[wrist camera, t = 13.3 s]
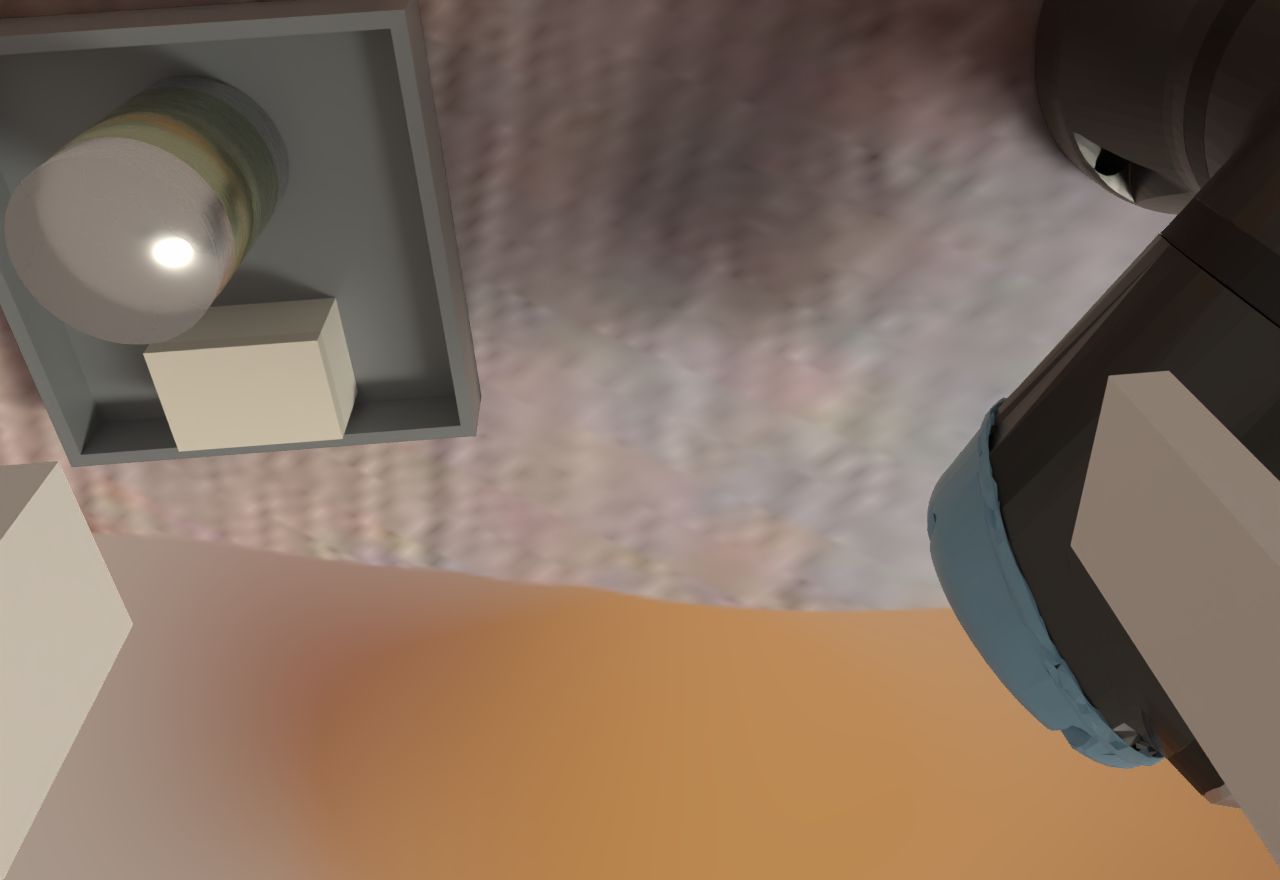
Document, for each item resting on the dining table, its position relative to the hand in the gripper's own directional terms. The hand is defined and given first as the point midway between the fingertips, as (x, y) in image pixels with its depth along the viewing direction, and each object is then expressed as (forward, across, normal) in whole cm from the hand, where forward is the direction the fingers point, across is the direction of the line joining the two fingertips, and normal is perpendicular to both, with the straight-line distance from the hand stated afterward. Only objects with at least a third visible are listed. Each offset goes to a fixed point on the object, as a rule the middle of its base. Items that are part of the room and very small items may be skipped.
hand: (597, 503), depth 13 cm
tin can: (+31, +15, +4) cm, 35 cm away
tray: (+32, +15, +8) cm, 36 cm away
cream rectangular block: (+31, +15, +13) cm, 37 cm away
